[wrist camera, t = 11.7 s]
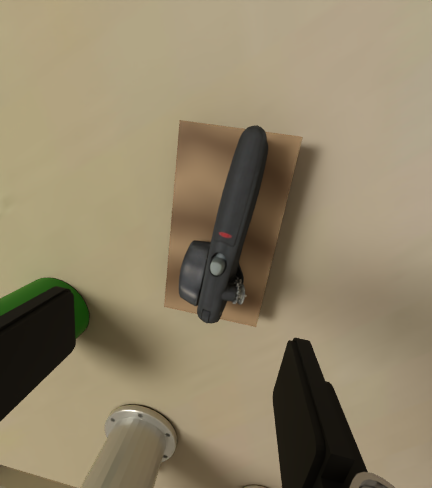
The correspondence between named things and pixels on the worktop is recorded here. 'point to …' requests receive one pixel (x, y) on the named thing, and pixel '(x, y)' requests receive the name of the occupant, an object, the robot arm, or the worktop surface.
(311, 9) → the worktop surface
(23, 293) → the motor
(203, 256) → the can opener
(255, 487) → the milk bottle
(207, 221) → the stand
